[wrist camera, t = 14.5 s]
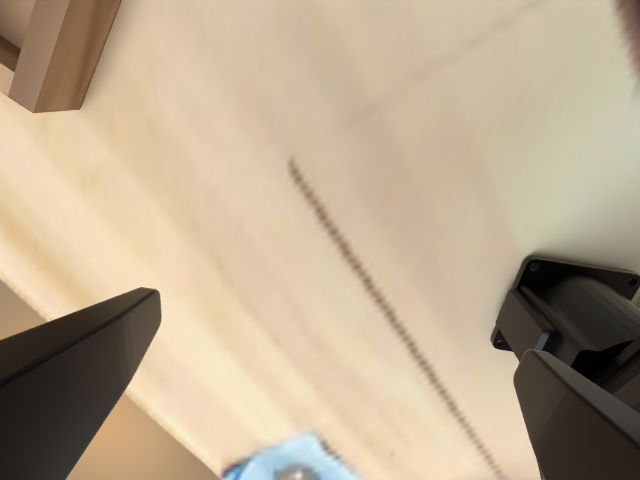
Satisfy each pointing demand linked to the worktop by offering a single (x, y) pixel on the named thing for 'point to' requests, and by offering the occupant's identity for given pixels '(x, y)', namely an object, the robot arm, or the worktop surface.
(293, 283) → the worktop surface
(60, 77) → the brown wooden flat frame
